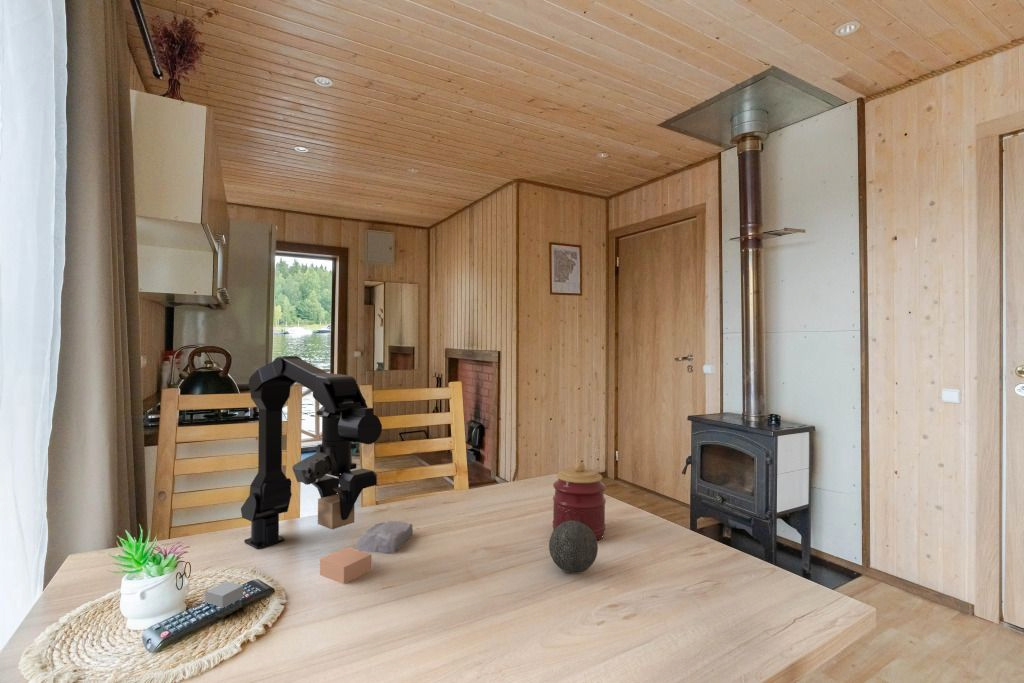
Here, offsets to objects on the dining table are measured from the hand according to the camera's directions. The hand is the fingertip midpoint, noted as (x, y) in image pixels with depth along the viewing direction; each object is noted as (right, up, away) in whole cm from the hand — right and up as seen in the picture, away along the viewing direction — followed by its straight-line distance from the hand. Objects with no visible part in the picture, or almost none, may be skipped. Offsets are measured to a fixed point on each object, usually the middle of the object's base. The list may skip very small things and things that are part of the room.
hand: (336, 516), depth 100 cm
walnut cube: (0, -1, 0) cm, 1 cm away
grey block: (-14, -11, -14) cm, 23 cm away
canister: (+52, -13, +24) cm, 58 cm away
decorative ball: (+48, -12, +3) cm, 49 cm away
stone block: (+5, -12, +16) cm, 21 cm away
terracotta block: (+2, -12, +1) cm, 12 cm away
